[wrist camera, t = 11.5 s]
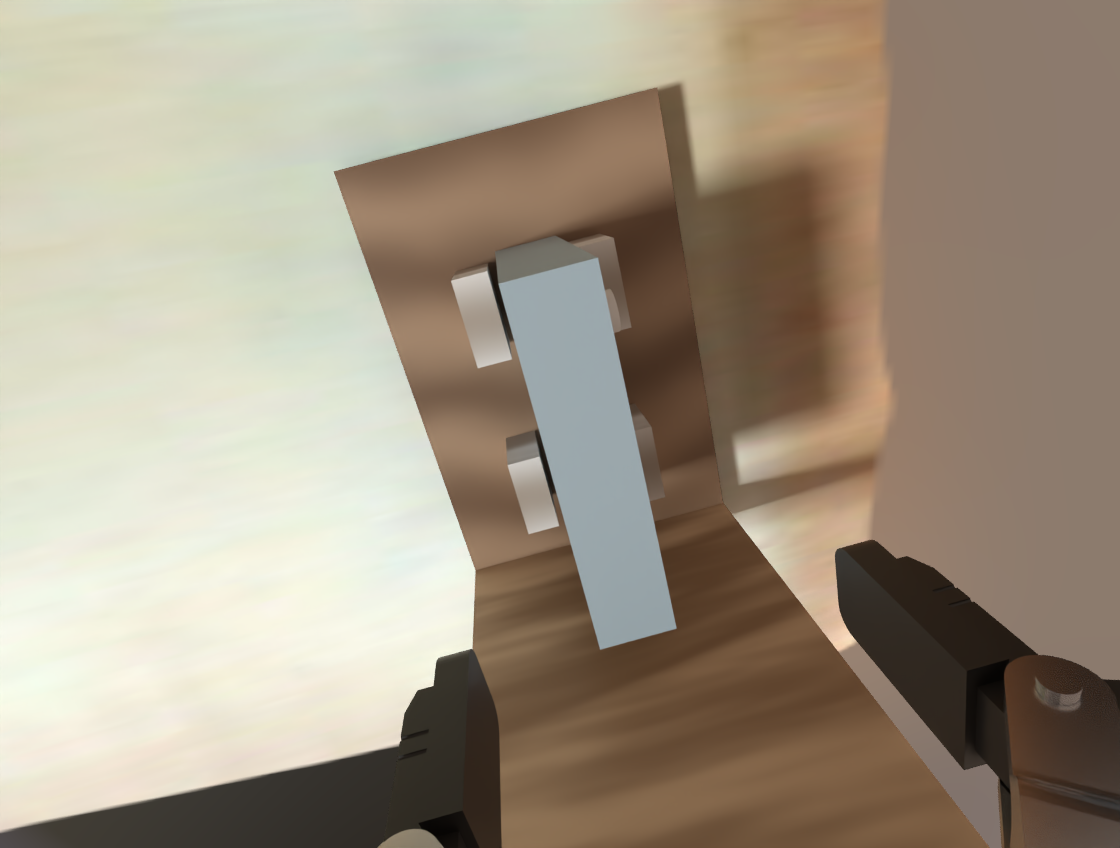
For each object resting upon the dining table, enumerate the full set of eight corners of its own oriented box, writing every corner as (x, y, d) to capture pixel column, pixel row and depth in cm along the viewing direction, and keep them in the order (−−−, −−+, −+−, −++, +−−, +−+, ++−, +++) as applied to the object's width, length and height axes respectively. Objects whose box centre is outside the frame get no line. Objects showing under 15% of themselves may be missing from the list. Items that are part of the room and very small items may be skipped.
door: (495, 251, 28) (498, 283, 17) (571, 231, 28) (624, 250, 17) (563, 500, 34) (600, 649, 22) (628, 482, 34) (696, 622, 22)
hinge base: (341, 172, 28) (-203, 68, 6) (648, 93, 28) (1208, -288, 6) (485, 582, 37) (479, 1146, 15) (718, 518, 37) (1051, 981, 15)
